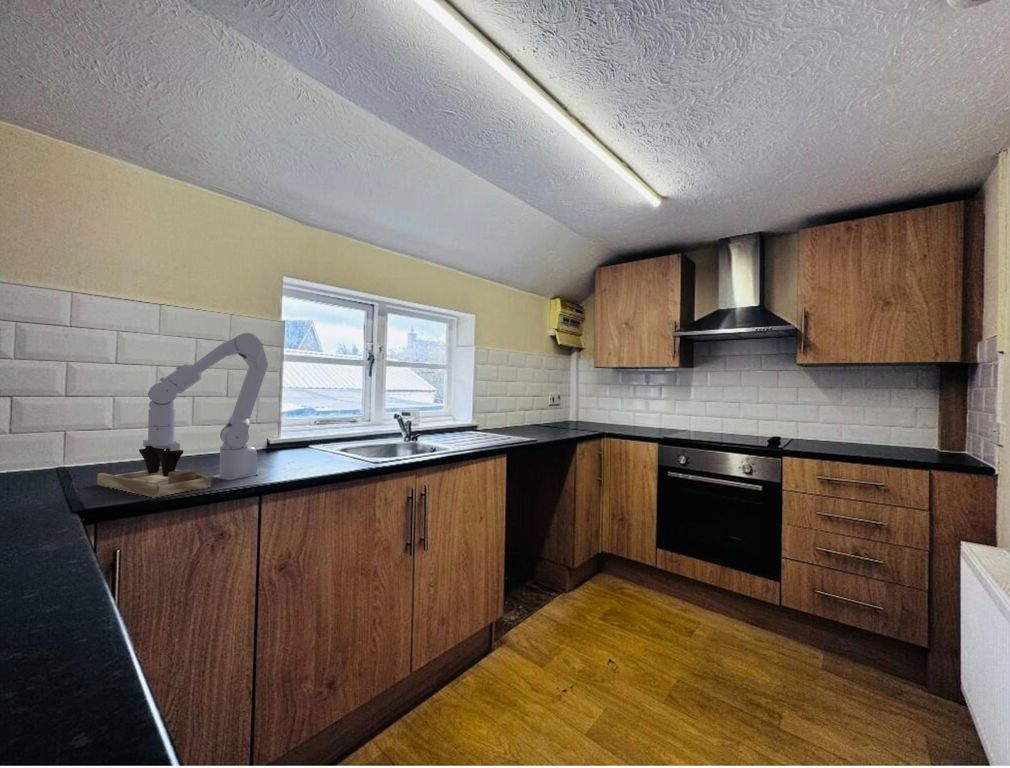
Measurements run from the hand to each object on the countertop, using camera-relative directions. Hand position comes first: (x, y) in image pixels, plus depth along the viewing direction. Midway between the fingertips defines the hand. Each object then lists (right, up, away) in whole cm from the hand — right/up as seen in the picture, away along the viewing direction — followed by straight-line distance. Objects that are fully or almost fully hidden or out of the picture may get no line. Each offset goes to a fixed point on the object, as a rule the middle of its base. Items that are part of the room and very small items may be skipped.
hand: (160, 474), depth 119 cm
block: (+10, -1, -5) cm, 11 cm away
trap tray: (0, -3, -2) cm, 3 cm away
